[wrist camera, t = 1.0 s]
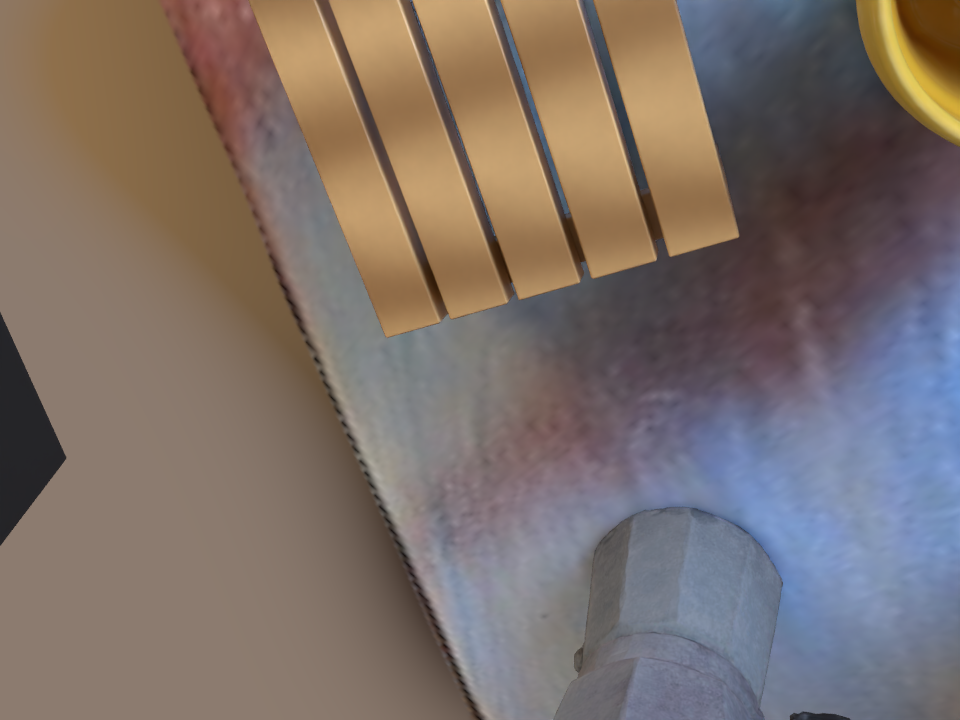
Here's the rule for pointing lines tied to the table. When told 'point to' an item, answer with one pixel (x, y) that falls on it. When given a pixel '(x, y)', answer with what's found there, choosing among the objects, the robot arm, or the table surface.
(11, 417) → the robot arm
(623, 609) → the moka pot
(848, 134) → the table surface
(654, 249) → the plant rack
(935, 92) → the flower pot
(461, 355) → the table surface
